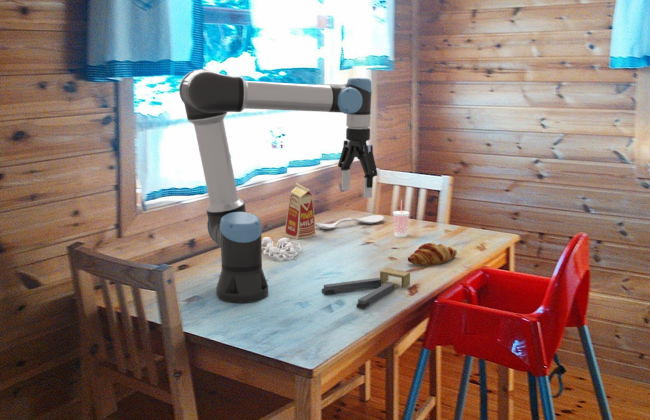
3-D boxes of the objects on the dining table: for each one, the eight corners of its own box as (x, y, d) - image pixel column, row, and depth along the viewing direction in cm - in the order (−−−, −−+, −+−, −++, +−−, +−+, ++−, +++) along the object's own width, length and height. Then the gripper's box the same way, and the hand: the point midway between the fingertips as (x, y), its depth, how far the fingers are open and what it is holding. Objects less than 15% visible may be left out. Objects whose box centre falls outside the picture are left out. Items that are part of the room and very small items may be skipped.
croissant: (449, 264, 257) (443, 242, 258) (468, 257, 248) (462, 234, 250) (403, 273, 245) (396, 250, 246) (421, 266, 237) (415, 242, 238)
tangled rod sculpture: (304, 264, 249) (305, 252, 248) (262, 262, 246) (262, 251, 245) (297, 247, 267) (298, 236, 266) (258, 245, 265) (258, 234, 264)
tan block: (385, 279, 228) (386, 267, 227) (409, 284, 223) (410, 272, 222) (379, 283, 224) (380, 271, 223) (403, 287, 220) (404, 275, 219)
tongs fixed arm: (387, 284, 224) (387, 276, 224) (402, 287, 221) (402, 279, 221) (348, 306, 205) (348, 298, 205) (363, 310, 203) (364, 301, 202)
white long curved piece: (309, 229, 291) (309, 220, 290) (375, 219, 307) (375, 211, 307) (321, 234, 283) (321, 225, 283) (388, 223, 300) (388, 215, 299)
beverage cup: (411, 234, 282) (412, 199, 279) (404, 238, 277) (405, 201, 273) (396, 232, 285) (397, 197, 282) (389, 236, 280) (390, 200, 277)
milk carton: (284, 235, 281) (283, 183, 276) (302, 231, 287) (302, 180, 282) (299, 239, 274) (299, 187, 270) (318, 235, 280) (318, 184, 276)
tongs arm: (378, 284, 223) (378, 277, 223) (381, 286, 221) (381, 279, 220) (321, 291, 216) (321, 284, 216) (324, 294, 214) (324, 287, 214)
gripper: (390, 131, 222) (387, 199, 227) (348, 123, 244) (346, 186, 248) (369, 132, 219) (367, 202, 223) (328, 123, 240) (327, 187, 245)
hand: (356, 193), depth 236 cm, fingers open, 13 cm apart
